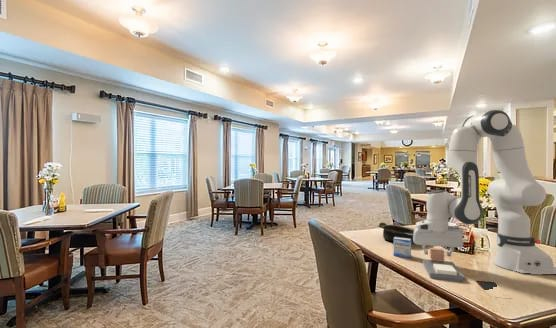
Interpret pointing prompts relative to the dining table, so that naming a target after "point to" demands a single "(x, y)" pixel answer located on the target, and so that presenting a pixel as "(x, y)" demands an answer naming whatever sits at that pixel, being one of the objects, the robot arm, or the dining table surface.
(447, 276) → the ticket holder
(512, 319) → the dining table surface
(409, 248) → the medicine box
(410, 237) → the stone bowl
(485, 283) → the smartphone
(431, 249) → the stub
